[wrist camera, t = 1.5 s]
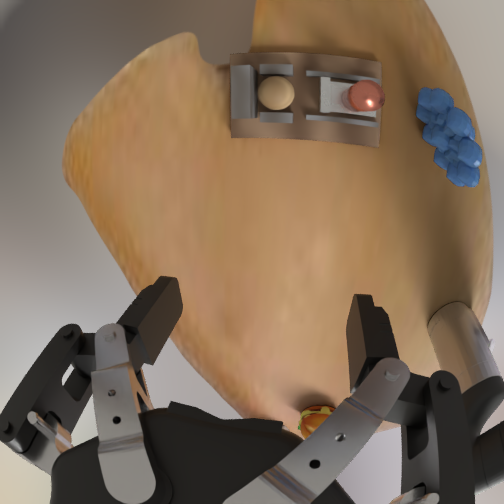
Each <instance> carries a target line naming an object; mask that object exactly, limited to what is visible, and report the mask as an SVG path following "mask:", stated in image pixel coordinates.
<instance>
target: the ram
mask: <svg viewBox="0 0 504 504" xmlns="http://www.w3.org/2000/svg"><path fill="white" fill-rule="evenodd" d="M384 101H385V94H384V91H383V89H382V88H381V86H380V85H379V84H378V83H376V82H374V81H372V80H368V79H365V80H361V81H359V82H357V83H355V84H349V83H341V82H331V81H330V77H321V78H320V86H319V112H321V113H330V112H338V113H347V114H355V115H362V116H369V117H376V110H378V109H380V108H381V107H382V106H383V104H384Z"/></svg>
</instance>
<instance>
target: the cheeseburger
mask: <svg viewBox="0 0 504 504" xmlns="http://www.w3.org/2000/svg"><path fill="white" fill-rule="evenodd" d="M334 410H335V409H334V408H332V407H329V406H313V407H309V408H307V409H305V410H304V411H303V412H302V413H301V420H300V421H299V425H300V426H298V429H299V430H301V433H302V435H303V437H304V438H305V439H306V438H307V437H308V436H309V435H310V434H311V433H312V432H313V431H314V430H316V429H317V428H318V427H319V426H320V425H321V424H322V423H323V422H324V421H325V419H326V418H327V417H328V416H329V415H330V414H331V413H332V412H333V411H334Z"/></svg>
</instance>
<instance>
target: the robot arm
mask: <svg viewBox="0 0 504 504" xmlns="http://www.w3.org/2000/svg"><path fill="white" fill-rule="evenodd" d="M182 310H183V303H182V298H181V293H180V289H179V284H178V280H177V278H175V277H167V276H160V277H159V278H158V279H157V281H156V282H155V283H154V284H153V285H149V286H148V287H146V288H145V289H143V290H142V291H141V292H140V293H139V295H138V296H137V297H136V299H135V300H134V301H133V302H132V304H131V305H130V306H129V307H128V308H127V310H126V311H125V312H124V314H123V315H122V316H121V317H120V319H119V320H118V322H117V323H116V324H114V323H111V324H107V325H104V326H102V327H101V328H100V329H99V330H98V331H97V332H96V333H83V332H82V330H81V328H80V327H79V325H77V324H68V325H66V326H63V327H62V328H61V329H60V330H59V331H58V332H57V333H56V334H55V336H54V337H53V338H52V340H51V341H50V342H49V343H48V345H47V346H46V348H45V349H44V350H43V352H42V353H41V354H40V356H39V357H38V358H37V360H36V361H35V362H34V364H33V365H32V367H31V368H30V370H29V371H28V372H27V374H26V375H25V377H24V378H23V380H22V381H21V383H20V384H19V386H18V387H17V389H16V390H15V392H14V393H13V395H12V397H11V398H10V400H9V401H8V403H7V405H6V406H5V408H4V409H3V411H2V413H1V414H0V441H2V442H3V443H4V444H6V445H7V446H8V447H9V448H11V449H12V451H14V452H15V453H16V454H18V455H19V456H20V457H22V458H23V459H25V460H26V461H28V462H29V463H31V464H34V465H35V466H37V467H38V468H40V469H41V470H43V471H45V472H46V473H48V474H49V475H51V482H52V491H51V500H50V504H355V503H354V501H353V500H352V499H351V498H350V496H349V495H348V494H347V493H346V492H345V491H344V489H343V488H342V487H341V485H340V484H339V483H338V482H337V480H336V477H337V476H338V475H339V474H340V473H341V472H342V471H343V470H344V469H345V468H346V467H347V466H348V464H349V463H350V462H351V461H352V460H353V458H354V457H355V456H356V455H357V454H358V453H359V451H360V450H361V449H362V448H363V447H364V445H365V444H366V443H367V442H368V440H369V439H370V437H371V436H372V435H373V434H374V432H375V431H376V430H377V428H378V427H379V426H380V424H381V423H382V421H383V420H385V421H389V422H393V423H397V424H401V433H402V434H401V437H402V480H401V495H400V496H398V497H396V498H395V499H393V500H392V501H391V502H390V504H475V495H476V494H479V493H481V492H483V491H485V490H487V489H489V488H491V487H493V486H495V485H497V484H499V483H501V482H503V481H504V421H502V422H500V424H497V425H496V426H494V427H493V428H491V429H489V430H488V431H486V432H485V433H483V434H481V435H480V432H481V429H482V428H483V426H484V424H485V423H486V421H487V420H488V418H489V417H490V416H491V415H492V413H493V412H494V411H495V410H496V409H497V408H498V406H499V405H500V404H501V402H502V401H503V399H504V382H503V379H502V376H501V374H500V372H499V369H498V367H497V365H496V363H495V361H494V358H493V356H492V354H491V351H490V349H489V346H490V342H489V340H488V338H487V336H486V334H485V332H484V330H483V328H482V326H481V324H480V322H479V321H478V319H477V317H476V315H475V313H474V312H473V310H472V309H469V308H468V307H467V306H466V305H465V304H464V303H461V302H453V303H450V304H447V305H446V306H444V307H442V308H441V309H439V310H438V311H437V312H436V313H435V314H434V315H433V317H432V318H431V320H430V322H429V324H428V333H429V336H430V339H431V342H432V344H433V347H434V350H435V353H436V356H437V359H438V362H439V365H440V368H441V370H439V371H436V372H434V373H433V374H432V375H431V377H430V378H429V377H425V376H421V375H417V374H414V373H411V372H410V370H409V368H408V366H407V365H406V364H405V363H404V362H403V361H401V360H400V359H399V355H398V351H397V347H396V343H395V339H394V335H393V333H392V327H391V325H390V320H389V317H388V314H387V313H386V312H385V311H384V309H383V308H382V307H375V306H374V302H373V298H372V296H371V295H366V294H354V296H353V300H352V304H351V308H350V312H349V316H348V320H347V327H346V336H347V347H348V360H349V375H350V393H353V394H352V395H351V396H350V397H349V398H346V399H345V400H343V401H342V403H341V404H340V405H339V406H338V407H337V408H336V409H335V410H334V411H333V412H332V413H331V414H330V415H329V416H328V417H327V418H326V419H325V421H324V422H323V423H322V424H321V425H320V426H319V427H318V428H317V429H316V430H314V431H313V432H312V433H311V434H310V435H309V436H308V437H307V438H306V439H305V440H303V439H302V438H301V437H299V436H298V435H296V434H294V433H292V432H290V431H288V430H285V429H282V425H283V422H282V421H272V420H264V419H256V418H249V419H231V420H230V419H229V420H223V419H220V418H218V417H215V416H213V415H211V414H209V413H207V412H205V411H203V410H201V409H199V408H196V407H192V406H189V405H185V404H180V403H177V402H173V401H171V403H170V404H169V407H168V408H157V409H154V408H153V405H152V403H151V400H150V396H149V393H148V390H147V386H146V382H145V378H144V374H143V370H142V368H141V367H142V365H143V364H144V363H146V364H150V365H153V364H154V362H155V361H156V359H157V357H158V355H159V353H160V352H161V350H162V348H163V346H164V344H165V342H166V341H167V339H168V337H169V336H170V334H171V332H172V330H173V329H174V327H175V325H176V323H177V321H178V320H179V318H180V316H181V314H182ZM70 364H72V366H73V367H74V370H73V371H72V373H71V375H70V376H69V377H68V379H67V381H66V382H65V384H64V385H63V386H62V377H63V375H64V373H65V372H66V370H67V369H68V367H69V366H70ZM92 393H93V401H94V410H95V417H96V424H97V430H98V436H96V437H94V438H92V439H90V440H88V441H86V442H84V443H81V444H79V445H77V446H75V447H73V445H72V444H71V433H72V431H73V429H74V427H75V425H76V423H77V421H78V419H79V417H80V416H81V414H82V412H83V410H84V408H85V406H86V404H87V402H88V401H89V398H90V397H91V395H92Z"/></svg>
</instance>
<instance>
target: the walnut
mask: <svg viewBox="0 0 504 504" xmlns="http://www.w3.org/2000/svg"><path fill="white" fill-rule="evenodd" d="M294 94H295V93H294V88H293V86H292V84H291V83H290V82H289V81H288V80H287V79H285V78H283V77H279V76H272V77H269V78H267V79H265V80H264V81H263V82H262V83H261V84H260V86H259V88H258V97H259V100H260V101H261V103H262V104H263V105H264V106H266V107H267V108H269V109H273V110H280V109H284V108H286V107H288V106H289V105H290V104H291V103H292V101H293V99H294Z"/></svg>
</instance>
